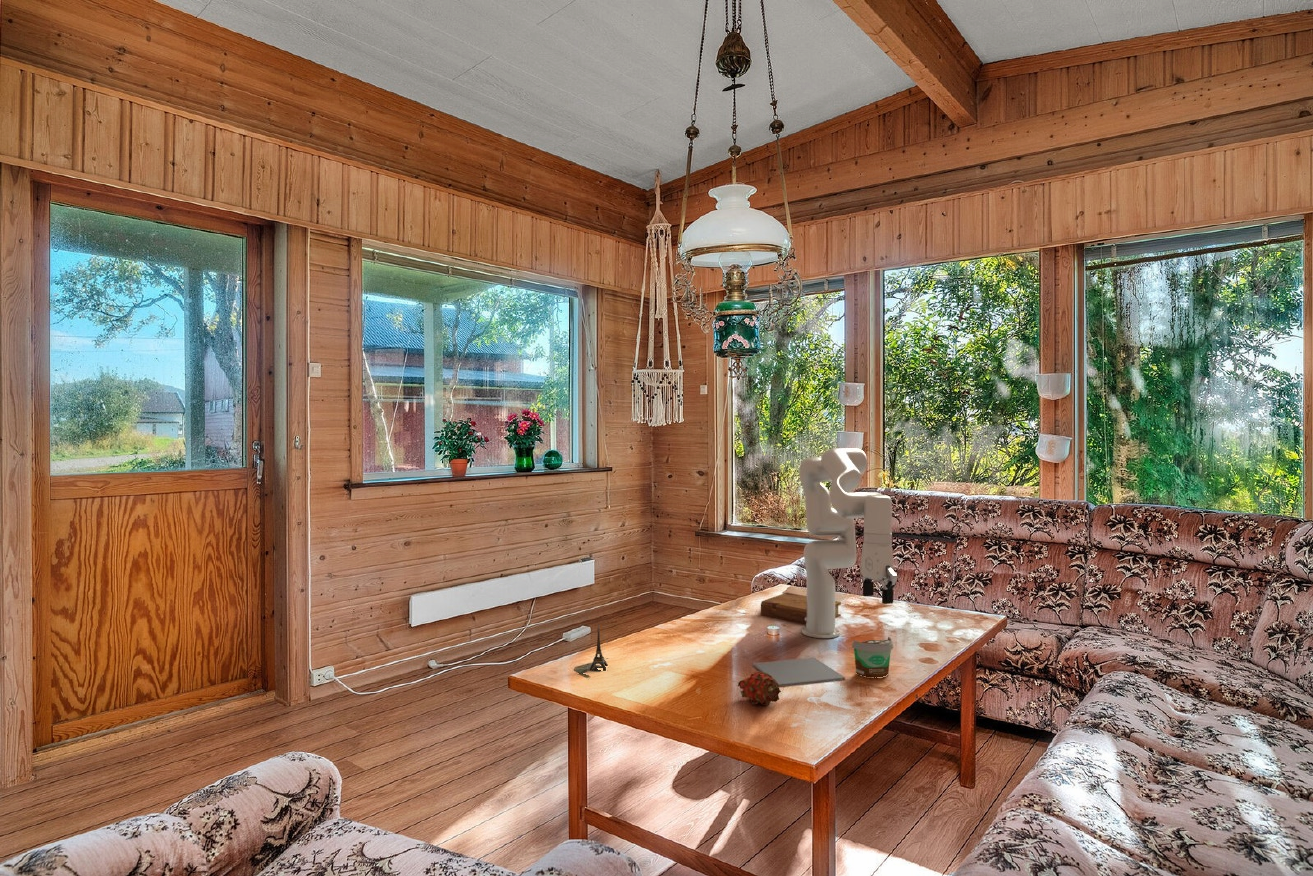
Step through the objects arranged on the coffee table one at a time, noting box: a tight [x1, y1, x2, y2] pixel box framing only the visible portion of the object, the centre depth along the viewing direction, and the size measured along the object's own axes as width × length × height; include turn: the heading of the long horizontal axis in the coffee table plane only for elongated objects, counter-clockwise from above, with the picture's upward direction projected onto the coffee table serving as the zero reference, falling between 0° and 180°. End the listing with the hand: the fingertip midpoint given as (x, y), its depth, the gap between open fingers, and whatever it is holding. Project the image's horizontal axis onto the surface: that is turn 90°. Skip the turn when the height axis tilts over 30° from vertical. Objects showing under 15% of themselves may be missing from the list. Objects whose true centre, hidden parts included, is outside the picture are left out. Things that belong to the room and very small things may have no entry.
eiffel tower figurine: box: [572, 624, 609, 678], centre depth 215 cm, size 15×10×13 cm
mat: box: [752, 657, 846, 688], centre depth 211 cm, size 18×20×1 cm
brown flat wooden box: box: [760, 592, 842, 625], centre depth 273 cm, size 23×19×6 cm
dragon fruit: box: [737, 671, 782, 706], centre depth 188 cm, size 8×8×12 cm
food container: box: [851, 636, 894, 678], centre depth 207 cm, size 12×6×10 cm, turn 105°
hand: (877, 599), depth 207 cm, fingers open, 9 cm apart
